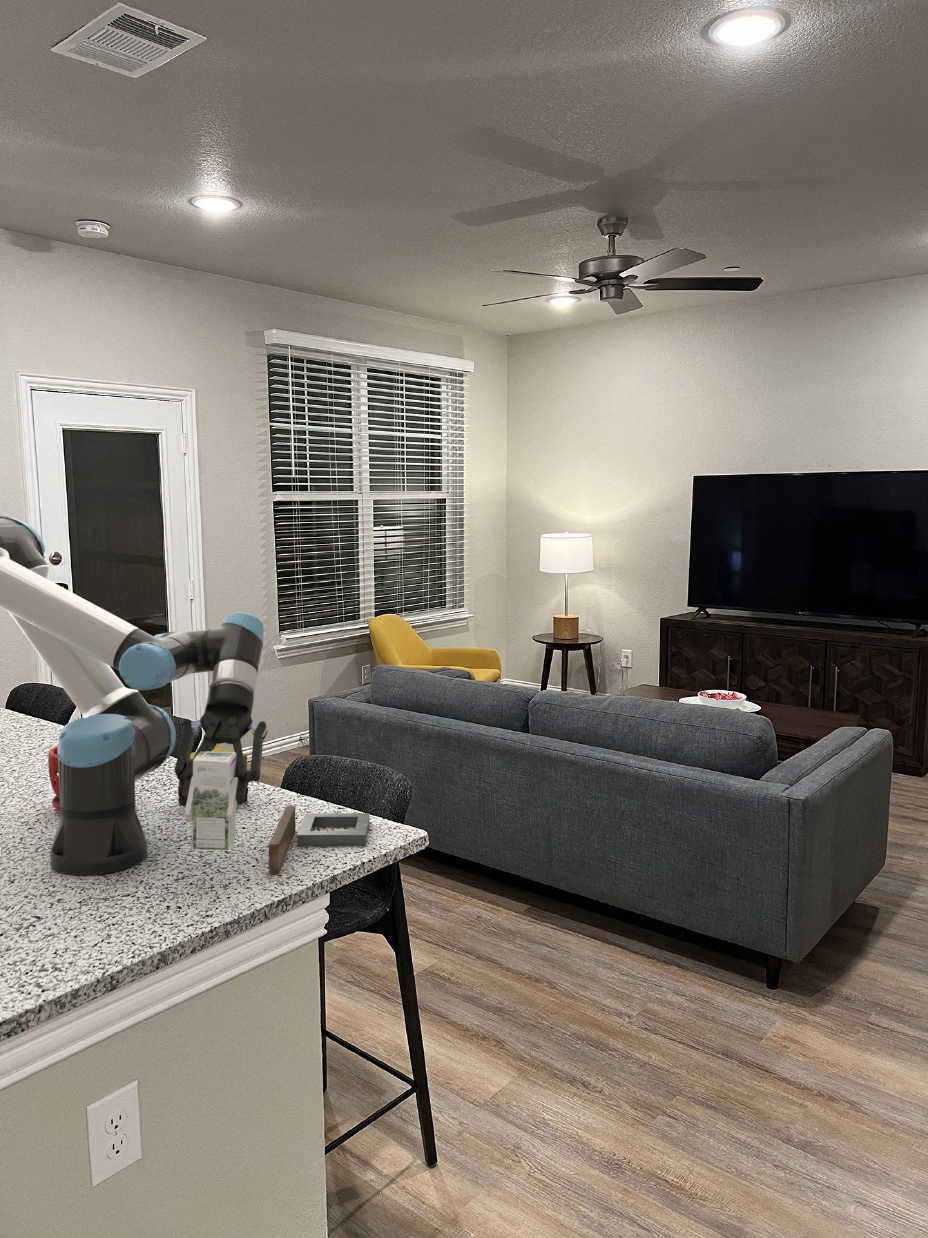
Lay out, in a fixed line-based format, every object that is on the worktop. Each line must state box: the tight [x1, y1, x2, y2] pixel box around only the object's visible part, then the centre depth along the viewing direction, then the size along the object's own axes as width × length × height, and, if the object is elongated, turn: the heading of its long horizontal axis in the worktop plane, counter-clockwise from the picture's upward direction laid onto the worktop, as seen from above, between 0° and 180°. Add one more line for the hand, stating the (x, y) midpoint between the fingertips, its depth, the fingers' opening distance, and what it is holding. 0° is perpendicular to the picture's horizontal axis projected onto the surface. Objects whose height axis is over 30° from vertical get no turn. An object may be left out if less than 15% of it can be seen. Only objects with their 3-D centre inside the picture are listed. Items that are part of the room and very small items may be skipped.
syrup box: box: [192, 751, 237, 851], centre depth 148 cm, size 6×6×14 cm
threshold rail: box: [268, 805, 296, 875], centre depth 161 cm, size 2×20×5 cm, turn 3°
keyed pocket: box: [296, 812, 371, 847], centre depth 171 cm, size 12×12×2 cm
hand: (209, 818), depth 144 cm, fingers closed on syrup box, 6 cm apart
